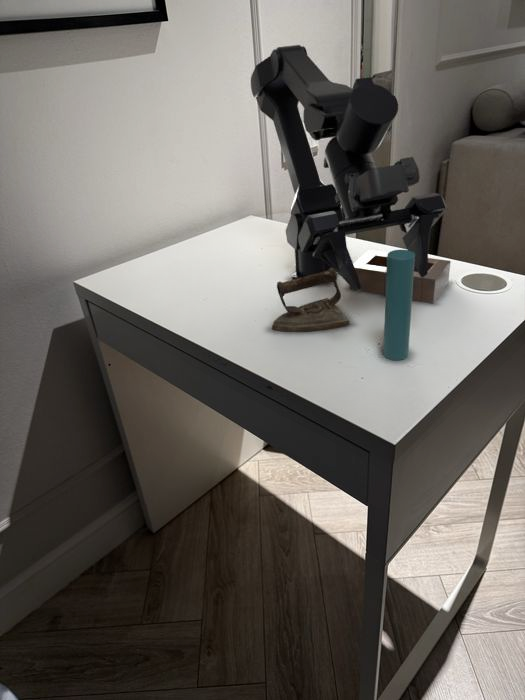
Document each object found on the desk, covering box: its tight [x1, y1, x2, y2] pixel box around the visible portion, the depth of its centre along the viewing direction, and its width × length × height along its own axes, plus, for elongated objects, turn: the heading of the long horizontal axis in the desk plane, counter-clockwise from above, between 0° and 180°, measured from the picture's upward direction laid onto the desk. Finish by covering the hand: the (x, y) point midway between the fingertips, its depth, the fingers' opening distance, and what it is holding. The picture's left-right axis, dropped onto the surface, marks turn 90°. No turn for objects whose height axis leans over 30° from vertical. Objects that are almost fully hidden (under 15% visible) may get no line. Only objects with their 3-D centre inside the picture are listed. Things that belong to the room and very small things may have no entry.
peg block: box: [349, 249, 452, 304], centre depth 85 cm, size 14×8×4 cm, turn 57°
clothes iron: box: [271, 268, 351, 333], centre depth 76 cm, size 7×11×10 cm, turn 107°
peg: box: [382, 249, 415, 361], centre depth 65 cm, size 3×3×14 cm
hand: (392, 283), depth 65 cm, fingers open, 9 cm apart
